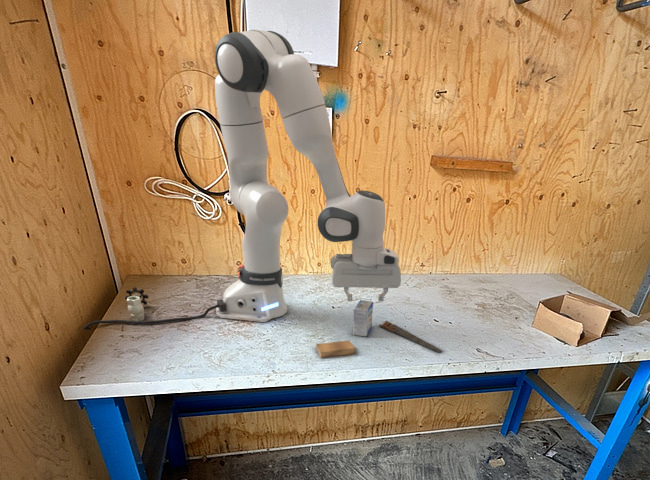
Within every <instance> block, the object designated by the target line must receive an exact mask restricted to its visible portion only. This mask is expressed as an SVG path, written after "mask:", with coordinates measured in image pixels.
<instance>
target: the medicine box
mask: <svg viewBox="0 0 650 480" xmlns="http://www.w3.org/2000/svg"><path fill="white" fill-rule="evenodd" d="M373 311H374V301H371V300H366V299H365V300H363V299H360V300H359V301H358V303H357V304H356V306H355V307H354V308H353V319H352V321H353V322H352V335H354V336H358V337H359V336H360V337H365V338H366V337H367V336H368V334H369V332H370V330H371V328H372V326H373Z"/></svg>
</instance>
